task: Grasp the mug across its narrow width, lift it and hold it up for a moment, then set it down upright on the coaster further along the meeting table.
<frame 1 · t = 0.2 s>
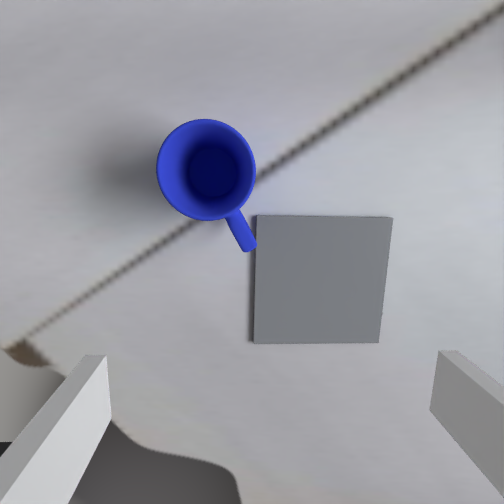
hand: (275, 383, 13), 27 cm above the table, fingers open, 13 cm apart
coaster: (319, 281, 40), on the table
mug: (222, 188, 37), on the table
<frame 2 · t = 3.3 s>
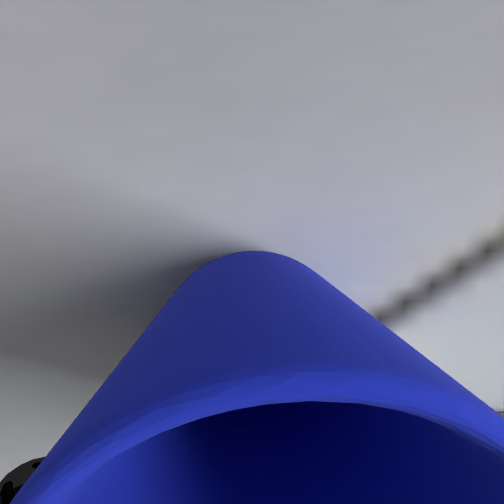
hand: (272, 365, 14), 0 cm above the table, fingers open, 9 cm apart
mug: (272, 355, 15), on the table, touching gripper
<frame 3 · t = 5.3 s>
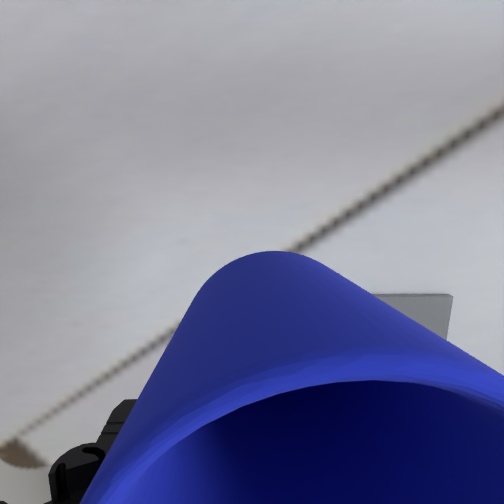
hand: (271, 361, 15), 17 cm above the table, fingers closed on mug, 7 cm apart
coaster: (364, 367, 34), on the table
mug: (287, 353, 15), point 16 cm above the table, touching gripper
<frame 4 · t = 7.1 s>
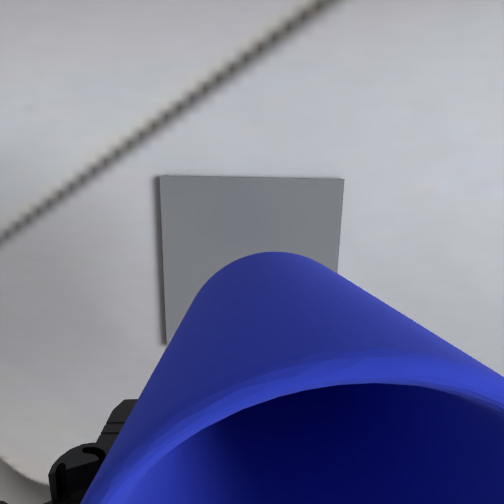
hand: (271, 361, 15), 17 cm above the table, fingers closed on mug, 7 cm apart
coaster: (251, 265, 31), on the table
mug: (287, 353, 15), point 16 cm above the table, touching gripper
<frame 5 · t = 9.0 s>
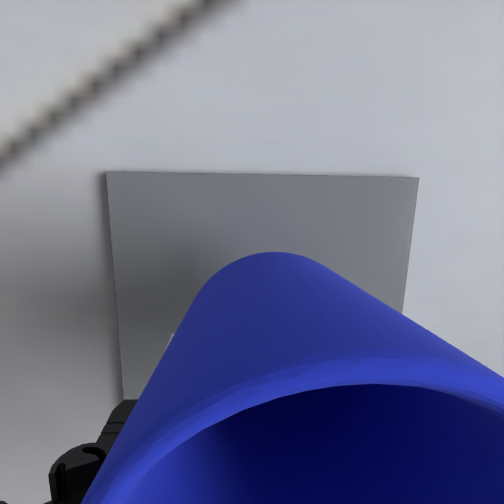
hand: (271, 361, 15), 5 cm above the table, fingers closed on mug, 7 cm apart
coaster: (262, 316, 19), on the table
mug: (287, 354, 15), point 4 cm above the table, touching gripper
when the fingers open (2 cm above the table, at t = 10.5 s): mug stays where it is, resting on coaster.
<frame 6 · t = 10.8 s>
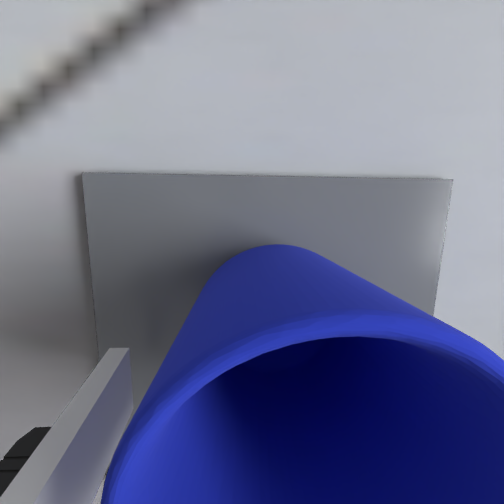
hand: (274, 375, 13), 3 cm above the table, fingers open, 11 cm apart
coaster: (267, 340, 16), on the table
mug: (288, 342, 16), resting on coaster
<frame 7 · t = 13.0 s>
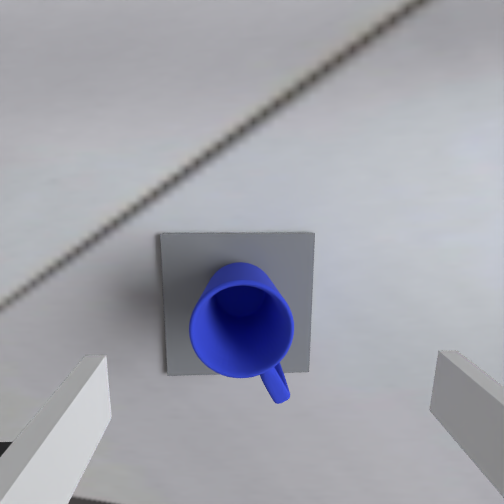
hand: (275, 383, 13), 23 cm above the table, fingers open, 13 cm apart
coaster: (238, 305, 36), on the table
mug: (248, 305, 36), resting on coaster
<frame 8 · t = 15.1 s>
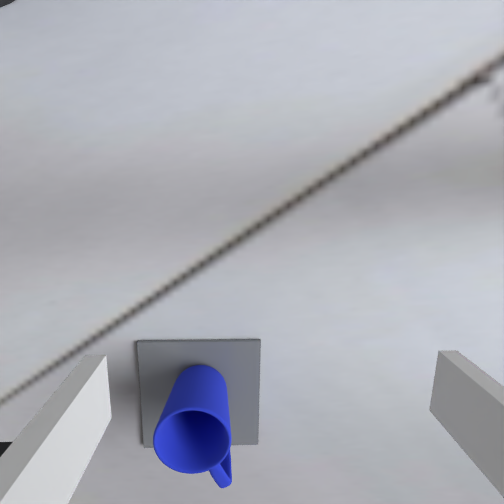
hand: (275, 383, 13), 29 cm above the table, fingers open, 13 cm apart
coaster: (200, 393, 45), on the table
mug: (208, 394, 45), resting on coaster
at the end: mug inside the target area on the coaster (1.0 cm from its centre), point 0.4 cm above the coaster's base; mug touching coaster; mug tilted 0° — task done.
